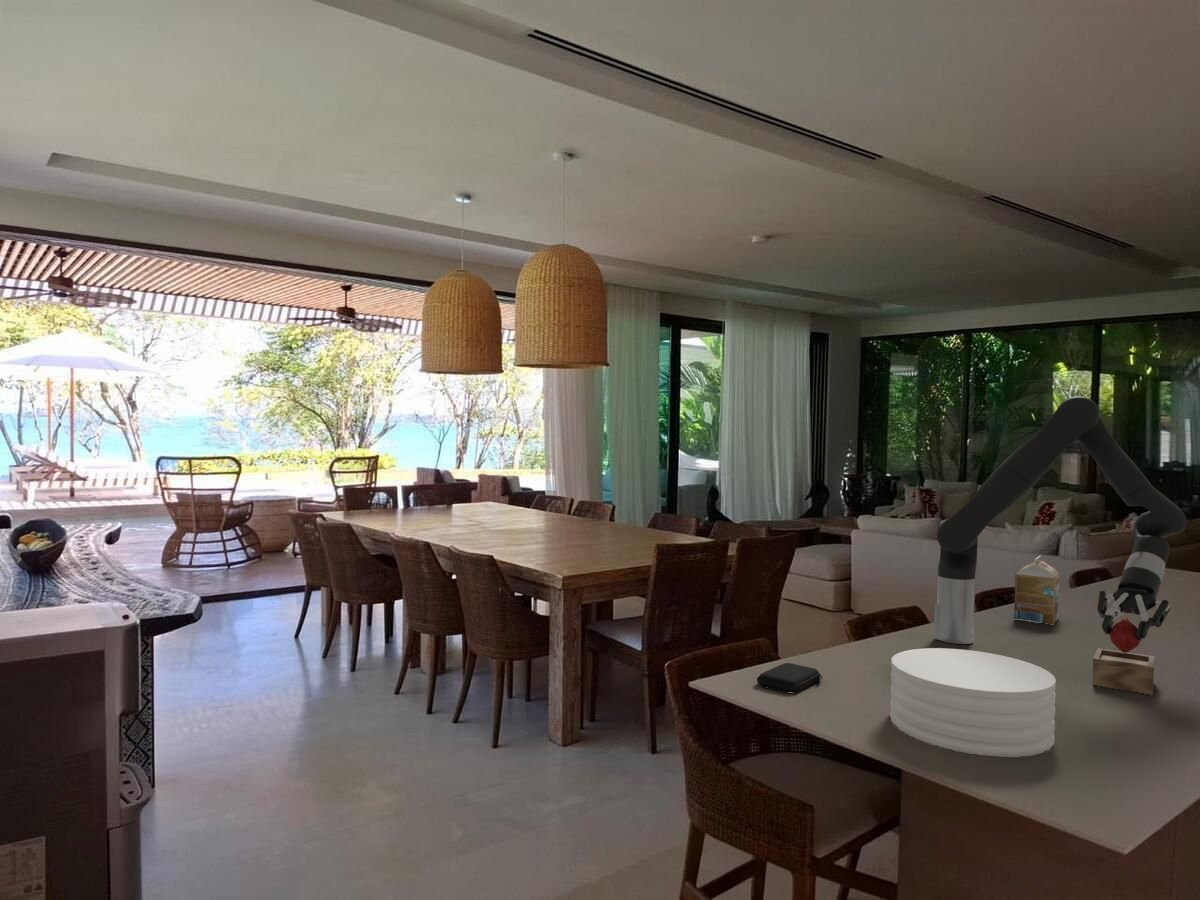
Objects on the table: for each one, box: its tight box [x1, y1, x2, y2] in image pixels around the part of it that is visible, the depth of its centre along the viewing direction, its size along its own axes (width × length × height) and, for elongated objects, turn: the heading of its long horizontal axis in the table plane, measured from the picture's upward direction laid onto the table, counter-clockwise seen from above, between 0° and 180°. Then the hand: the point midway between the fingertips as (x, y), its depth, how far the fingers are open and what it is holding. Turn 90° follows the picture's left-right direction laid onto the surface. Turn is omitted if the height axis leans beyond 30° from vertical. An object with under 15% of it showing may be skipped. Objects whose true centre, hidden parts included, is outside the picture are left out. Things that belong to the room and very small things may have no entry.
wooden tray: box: [1092, 647, 1156, 696], centre depth 179 cm, size 11×11×6 cm
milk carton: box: [1013, 555, 1061, 625], centre depth 242 cm, size 11×11×19 cm
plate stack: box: [889, 647, 1057, 755], centre depth 150 cm, size 28×28×12 cm
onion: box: [1109, 616, 1141, 653], centre depth 179 cm, size 6×6×8 cm
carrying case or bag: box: [756, 662, 823, 693], centre depth 175 cm, size 11×3×15 cm
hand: (1122, 634), depth 178 cm, fingers closed on onion, 5 cm apart
